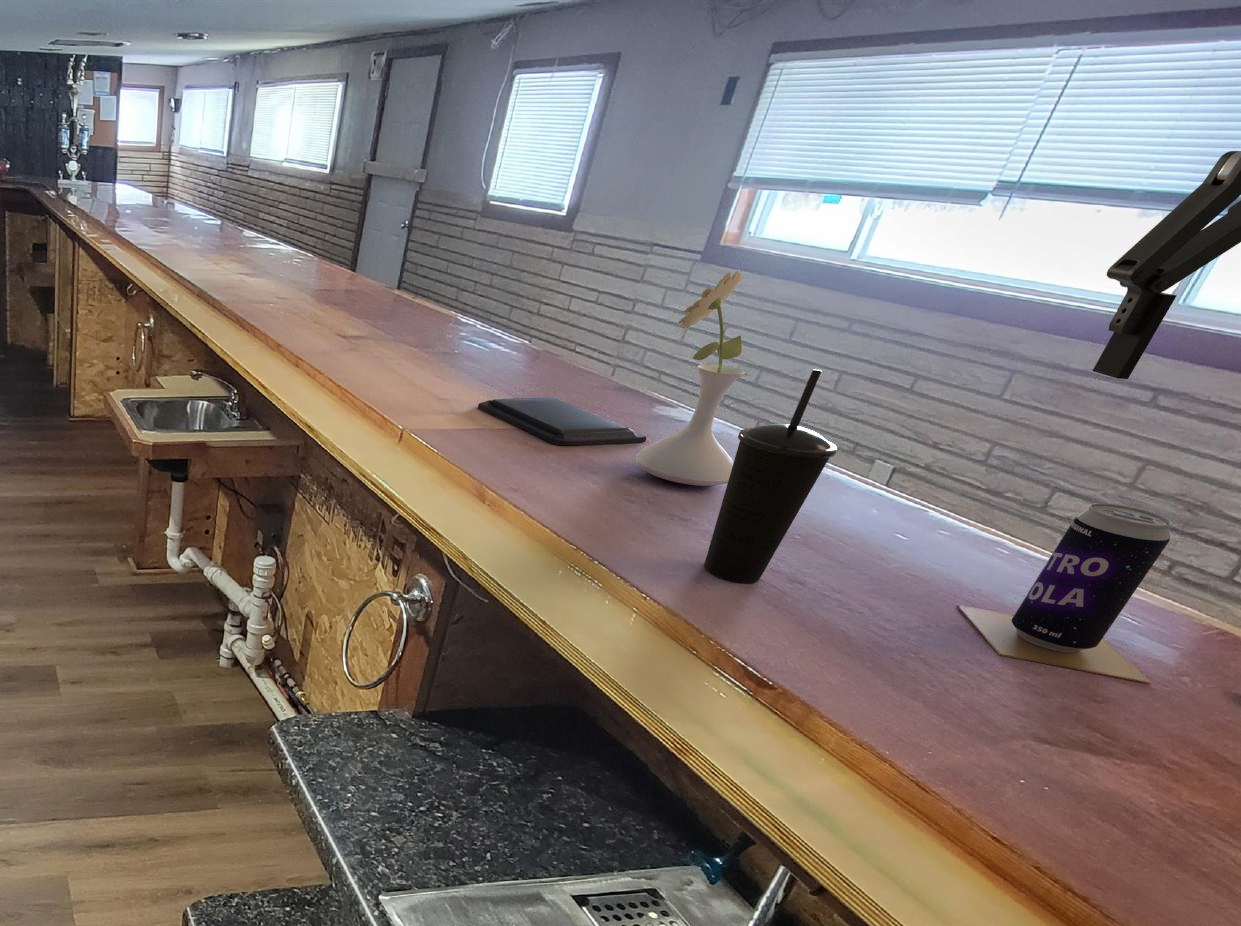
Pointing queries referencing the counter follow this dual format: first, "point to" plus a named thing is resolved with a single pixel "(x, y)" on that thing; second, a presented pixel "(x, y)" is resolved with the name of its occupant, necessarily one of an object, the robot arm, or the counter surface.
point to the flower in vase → (700, 406)
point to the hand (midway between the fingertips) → (1203, 381)
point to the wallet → (560, 421)
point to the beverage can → (1091, 576)
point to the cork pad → (1010, 644)
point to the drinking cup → (765, 493)
